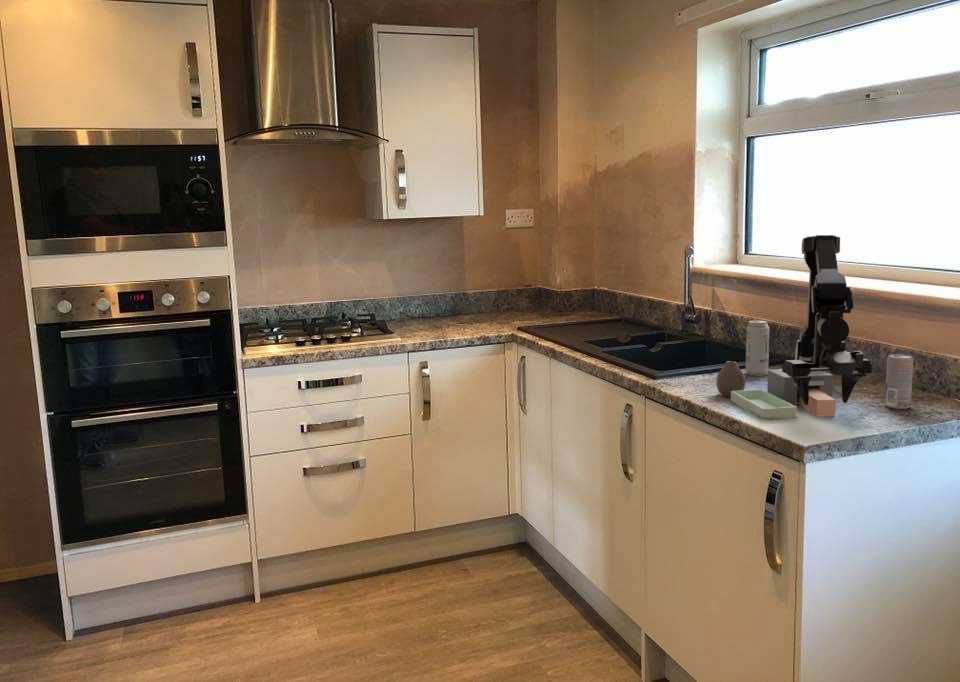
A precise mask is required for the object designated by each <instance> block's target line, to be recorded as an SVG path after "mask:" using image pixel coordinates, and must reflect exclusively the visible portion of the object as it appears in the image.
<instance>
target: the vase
mask: <svg viewBox="0 0 960 682" xmlns="http://www.w3.org/2000/svg"><path fill="white" fill-rule="evenodd" d="M716 388H717V391H718V393H719V394H720V395H721V396H722V397H724V398H729V397H731V391H739V390H745V388H746V377H745V375H744V372H743V371H742V370H741V368H740V367H739V366H738V363H737V361H734V360H728V361H726V362H725V363H724V365H723V367H722V368H721V369H720V370H719V371H718V374H717V375H716Z"/></svg>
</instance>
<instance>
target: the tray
mask: <svg viewBox="0 0 960 682" xmlns="http://www.w3.org/2000/svg"><path fill="white" fill-rule="evenodd" d="M730 401H731V402H732V403H733V402H734V403H733V404H735V403H736V405H737V406H738V405H739V406H738V407H740V406H741V407H740V408H742V409H743V408H744V409H743V410H745V409H746V410H745V411H747V412H748V411H749V413H750V412H751V413H750V414H752V415H753V414H754V415H753V416H755V415H756V416H755V417H757V418H758V417H759V419H760V418H761V420H762V419H767V420H781V419H782V420H783V419H797V415H798V407H797V405H796V406H794V405H792V404H790V403H788V402H786V401H784V400H782V399H780V398H778V397H776V396H774V395H772V394H770V393H768V392H767V390H764V389H763V388H761V389H744V390H739V391H731V398H730Z"/></svg>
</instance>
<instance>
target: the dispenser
mask: <svg viewBox="0 0 960 682" xmlns="http://www.w3.org/2000/svg"><path fill="white" fill-rule="evenodd" d="M808 376H809V377H811V380H810V382H809V386H813V387H815V388H817V389H818V390H820V391H822V392H823V393H825V394H827V395H828V396H830V397H832V398H833V394H834V393H833V390H834V389H833V388H834V387H833V386H834V374H833V373H829V372H827V371H811V373H810V374H809V375H808ZM766 385H767V386H766V387H767V390H766V391H767V392H768V393H770V394H772V395H774V396H776V397H778V398H780V399H782V400H784V401H786V402H788V403H790V404H792V405H794V406H796V407H797V406H798V405H797V404H798V403H797V385H796V383H795V382H794V380H793V378H792V377H790V376H788V374H786V373H784V372H782V368H781V369H780V368H779V369H768V372H767V384H766Z"/></svg>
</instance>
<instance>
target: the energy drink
mask: <svg viewBox="0 0 960 682" xmlns="http://www.w3.org/2000/svg"><path fill="white" fill-rule="evenodd" d="M913 358H914V357H913V356H912V355H910V354H903V353H902V354H900V353H895V354H893V353H891V354H889V355H888V356H887V359H886V360H887V361H886V378H885V396H884V397H885V398H884V406H886V407H887V408H889V409H890V408H891V409H894V410H907V409H909V408H911V406H912V405H911V404H912V402H911V401H912V388H913V372H914V369H913V368H914V359H913Z"/></svg>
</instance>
